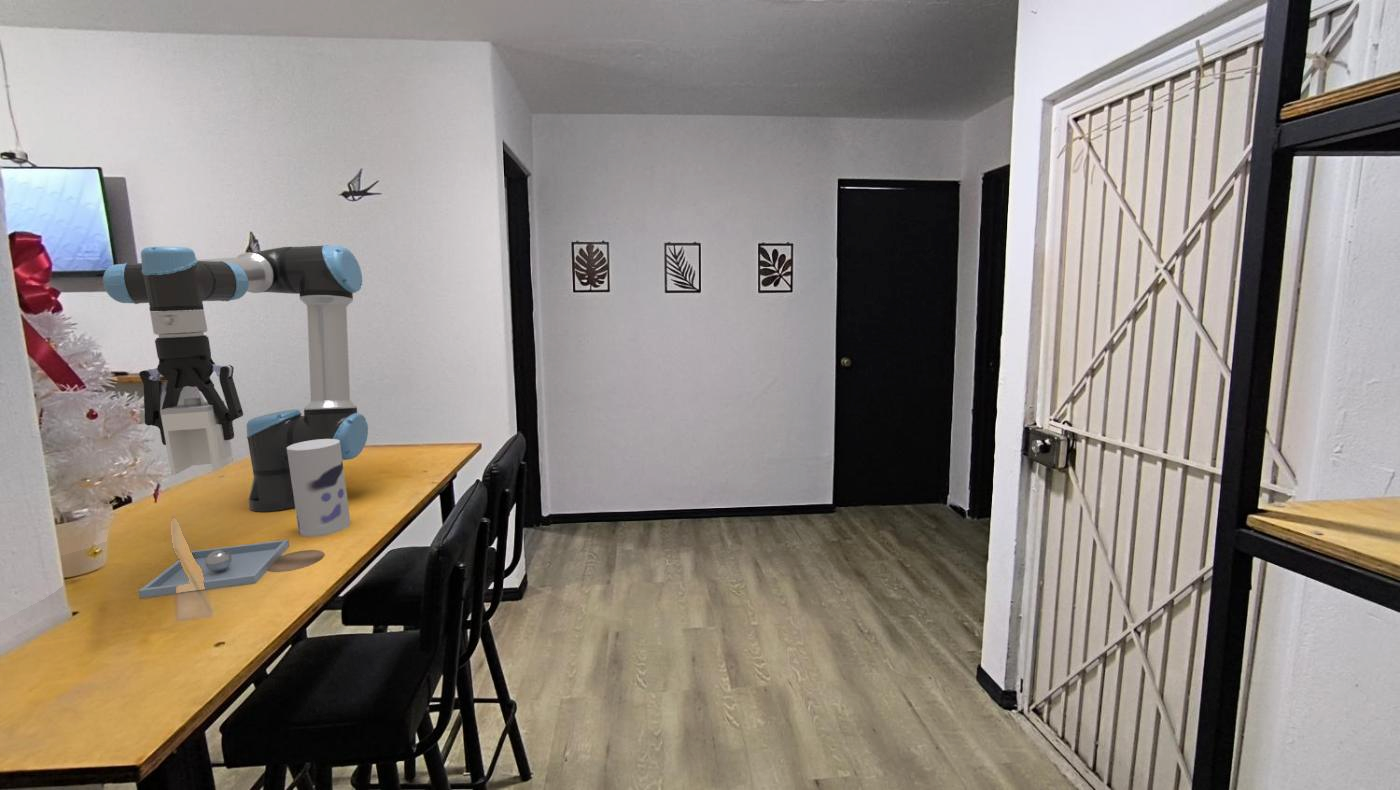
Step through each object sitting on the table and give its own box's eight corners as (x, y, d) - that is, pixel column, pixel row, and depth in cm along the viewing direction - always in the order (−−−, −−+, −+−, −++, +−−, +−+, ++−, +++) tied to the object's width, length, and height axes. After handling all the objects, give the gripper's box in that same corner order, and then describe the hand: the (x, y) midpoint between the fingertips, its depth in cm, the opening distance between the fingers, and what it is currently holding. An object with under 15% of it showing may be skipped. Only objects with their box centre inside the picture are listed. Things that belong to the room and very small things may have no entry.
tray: (191, 560, 127) (189, 551, 127) (290, 548, 131) (288, 539, 131) (140, 601, 110) (138, 590, 110) (256, 586, 115) (254, 575, 114)
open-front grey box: (190, 464, 120) (179, 397, 117) (233, 461, 121) (223, 394, 119) (171, 474, 113) (158, 403, 111) (216, 470, 115) (205, 400, 113)
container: (327, 540, 135) (315, 449, 132) (288, 537, 137) (274, 448, 134) (360, 523, 145) (350, 438, 142) (323, 521, 147) (312, 437, 144)
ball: (212, 568, 122) (209, 548, 121) (236, 565, 123) (233, 545, 122) (203, 577, 118) (199, 556, 117) (227, 573, 119) (224, 553, 118)
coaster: (276, 556, 127) (275, 554, 127) (331, 549, 130) (330, 547, 130) (256, 578, 118) (255, 575, 118) (316, 570, 121) (315, 567, 120)
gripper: (100, 339, 107) (125, 470, 111) (236, 333, 112) (255, 458, 116) (127, 336, 114) (149, 459, 118) (253, 331, 119) (271, 449, 123)
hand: (202, 459), depth 117 cm, fingers closed on open-front grey box, 7 cm apart
